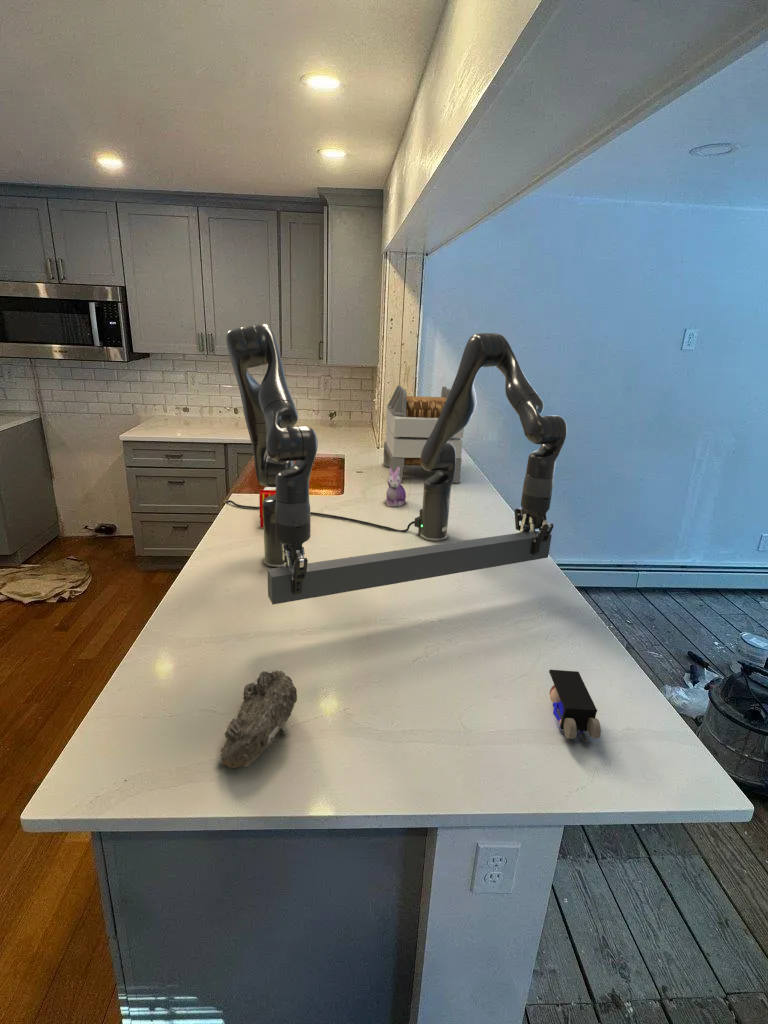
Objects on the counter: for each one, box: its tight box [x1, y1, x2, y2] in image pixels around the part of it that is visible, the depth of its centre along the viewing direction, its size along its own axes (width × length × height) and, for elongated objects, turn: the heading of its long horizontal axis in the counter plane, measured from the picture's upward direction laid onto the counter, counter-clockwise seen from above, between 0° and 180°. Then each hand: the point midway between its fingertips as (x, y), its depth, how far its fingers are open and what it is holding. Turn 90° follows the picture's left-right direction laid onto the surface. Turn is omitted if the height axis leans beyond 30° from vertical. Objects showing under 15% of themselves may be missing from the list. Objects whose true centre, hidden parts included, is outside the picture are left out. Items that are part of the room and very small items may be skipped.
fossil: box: [220, 670, 298, 769], centre depth 104 cm, size 22×10×15 cm
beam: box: [266, 531, 553, 605], centre depth 141 cm, size 77×4×7 cm, turn 115°
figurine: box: [385, 467, 407, 507], centre depth 228 cm, size 9×10×15 cm
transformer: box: [383, 384, 465, 484], centre depth 268 cm, size 34×33×41 cm
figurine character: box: [548, 669, 602, 743], centre depth 110 cm, size 7×8×15 cm
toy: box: [258, 487, 276, 529], centre depth 211 cm, size 12×13×30 cm
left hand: (293, 588), depth 128 cm, fingers closed on beam, 4 cm apart
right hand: (528, 550), depth 155 cm, fingers closed on beam, 4 cm apart
